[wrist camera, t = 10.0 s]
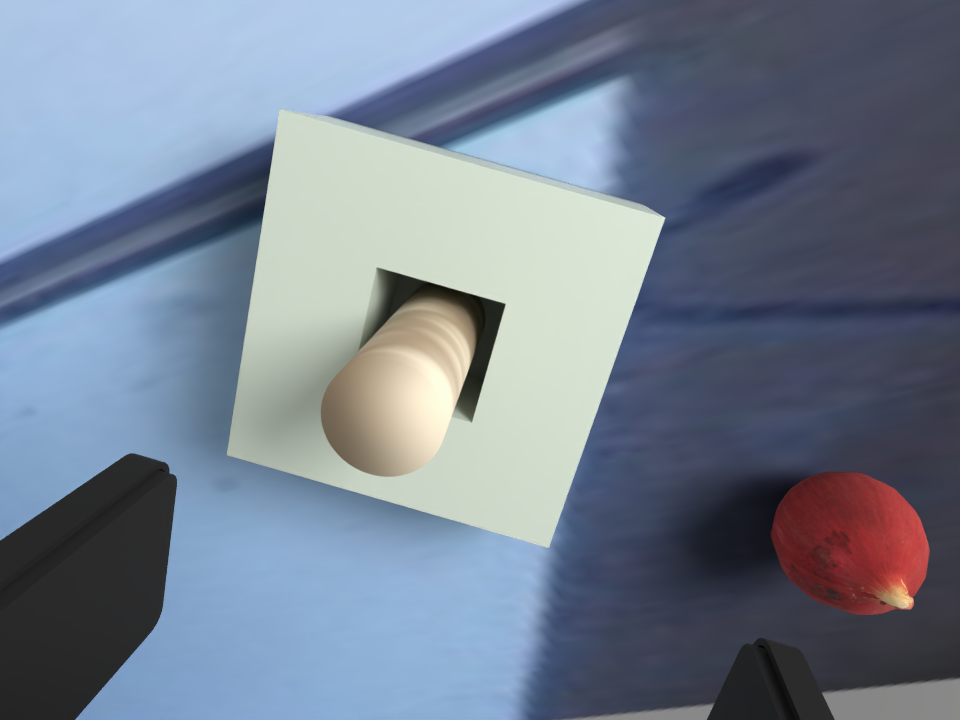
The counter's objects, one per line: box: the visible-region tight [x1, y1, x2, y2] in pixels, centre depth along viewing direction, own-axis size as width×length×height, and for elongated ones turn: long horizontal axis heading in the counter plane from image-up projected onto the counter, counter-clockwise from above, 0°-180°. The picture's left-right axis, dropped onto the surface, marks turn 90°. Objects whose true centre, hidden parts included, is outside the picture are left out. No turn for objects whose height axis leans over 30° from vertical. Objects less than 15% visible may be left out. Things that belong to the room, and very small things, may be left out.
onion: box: [771, 472, 929, 615], centre depth 28 cm, size 6×6×8 cm
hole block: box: [227, 109, 665, 548], centre depth 28 cm, size 14×14×6 cm
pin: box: [321, 282, 485, 477], centre depth 24 cm, size 4×4×12 cm
